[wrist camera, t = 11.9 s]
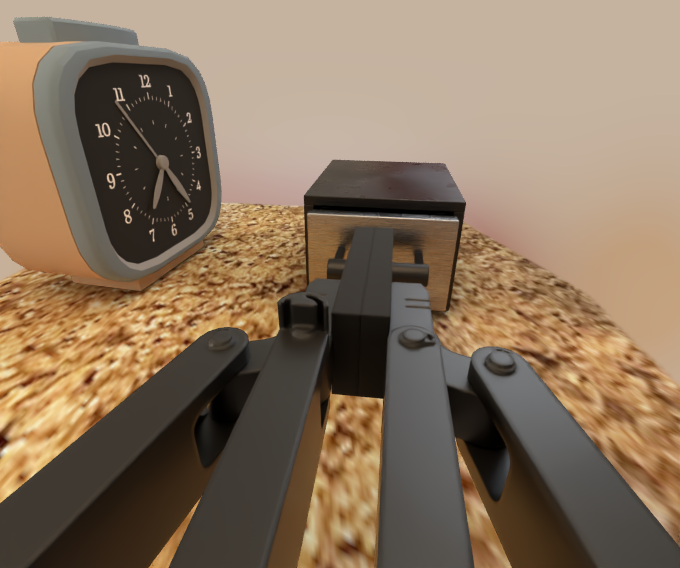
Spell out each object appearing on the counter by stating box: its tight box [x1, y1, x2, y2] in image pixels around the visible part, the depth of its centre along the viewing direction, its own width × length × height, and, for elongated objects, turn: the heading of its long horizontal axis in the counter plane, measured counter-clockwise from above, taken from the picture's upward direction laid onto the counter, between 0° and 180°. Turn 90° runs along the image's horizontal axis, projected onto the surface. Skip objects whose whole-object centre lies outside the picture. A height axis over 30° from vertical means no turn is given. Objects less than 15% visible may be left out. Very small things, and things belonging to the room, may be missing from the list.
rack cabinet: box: [304, 160, 466, 310], centre depth 40 cm, size 16×13×10 cm
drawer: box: [307, 206, 459, 311], centre depth 36 cm, size 19×11×8 cm, turn 172°
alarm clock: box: [0, 17, 221, 291], centre depth 38 cm, size 21×10×22 cm, turn 167°
